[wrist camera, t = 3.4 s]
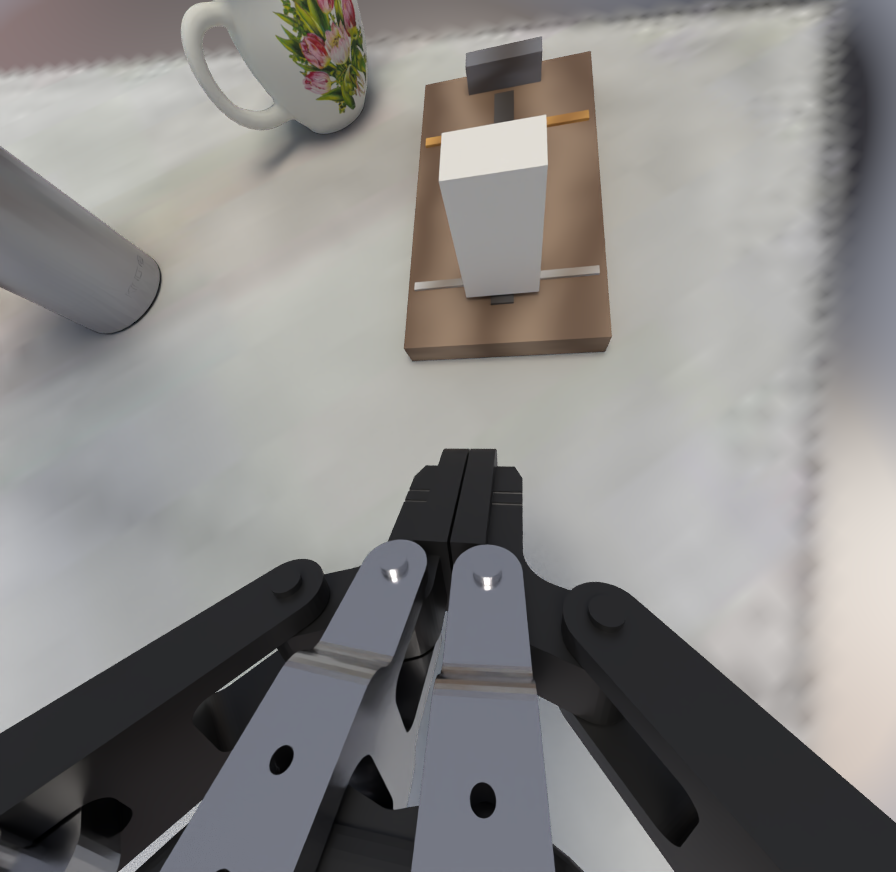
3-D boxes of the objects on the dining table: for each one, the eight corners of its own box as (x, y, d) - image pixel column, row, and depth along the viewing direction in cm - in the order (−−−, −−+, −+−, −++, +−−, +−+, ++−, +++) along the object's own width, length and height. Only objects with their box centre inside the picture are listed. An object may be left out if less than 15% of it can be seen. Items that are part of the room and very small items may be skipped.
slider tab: (466, 297, 26) (438, 181, 17) (467, 261, 26) (441, 133, 18) (539, 291, 25) (547, 164, 16) (538, 254, 25) (546, 114, 17)
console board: (412, 360, 28) (394, 334, 24) (430, 109, 34) (419, 57, 31) (605, 351, 25) (619, 319, 21) (586, 79, 32) (595, 18, 28)
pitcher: (237, 156, 38) (90, -37, 25) (353, 40, 39) (269, -203, 26) (299, 199, 35) (165, 1, 22) (424, 71, 36) (368, -191, 23)
